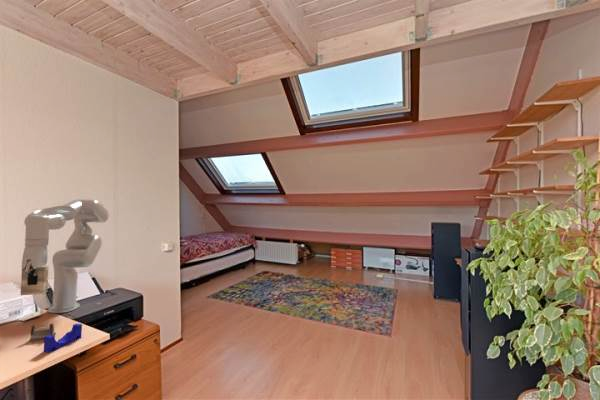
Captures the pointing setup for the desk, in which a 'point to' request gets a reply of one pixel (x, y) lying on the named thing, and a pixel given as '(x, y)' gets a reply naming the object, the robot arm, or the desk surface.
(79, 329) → the blue cradle stand
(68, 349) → the desk surface
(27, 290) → the tan wooden block
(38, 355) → the desk surface
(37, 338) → the offcut rack
